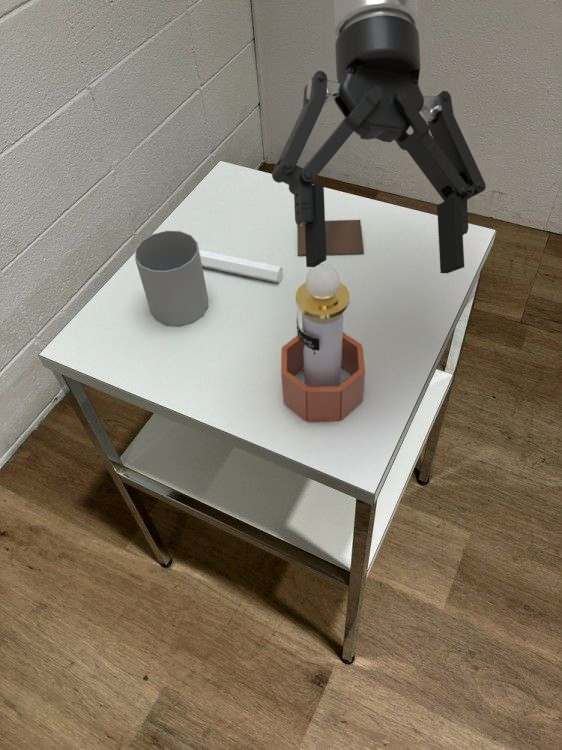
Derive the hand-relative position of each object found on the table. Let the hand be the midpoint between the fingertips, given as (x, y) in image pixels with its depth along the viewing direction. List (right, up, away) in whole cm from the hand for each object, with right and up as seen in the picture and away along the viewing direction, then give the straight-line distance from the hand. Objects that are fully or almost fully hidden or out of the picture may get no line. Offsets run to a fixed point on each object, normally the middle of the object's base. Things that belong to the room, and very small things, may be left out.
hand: (387, 267), depth 57 cm
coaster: (-2, +12, +43) cm, 44 cm away
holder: (-4, -11, +24) cm, 26 cm away
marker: (-17, +6, +39) cm, 43 cm away
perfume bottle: (-4, -12, +24) cm, 27 cm away
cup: (-24, 0, +35) cm, 42 cm away
